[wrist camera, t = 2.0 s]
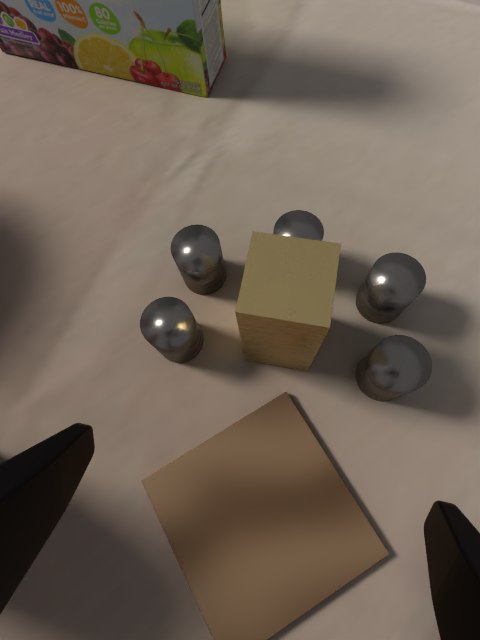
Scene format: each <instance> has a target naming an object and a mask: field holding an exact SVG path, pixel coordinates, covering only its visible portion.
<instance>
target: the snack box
mask: <svg viewBox="0 0 480 640" xmlns="http://www.w3.org/2000/svg"><path fill="white" fill-rule="evenodd" d="M0 48H1V50H2V51H3V52H5V53H10V54H15V55H20V56H24V57H29V58H34V59H38V60H42V61H47V62H51V63H56V64H61V65H64V66H69V67H74V68H78V69H83V70H87V71H91V72H96V73H100V74H105V75H109V76H114V77H118V78H122V79H127V80H131V81H136V82H140V83H144V84H149V85H153V86H158V87H162V88H166V89H170V90H175V91H179V92H184V93H188V94H193V95H197V96H201V97H207V96H208V95H209V92H210V90H211V88H212V85H213V83H214V81H215V79H216V77H217V75H218V73H219V71H220V68H221V66H222V64H223V62H224V60H225V58H226V52H225V41H224V31H223V22H222V12H221V1H220V0H0Z"/></svg>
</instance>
